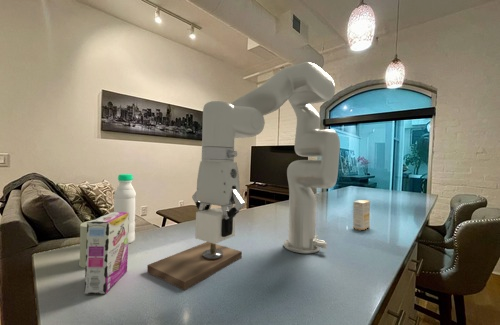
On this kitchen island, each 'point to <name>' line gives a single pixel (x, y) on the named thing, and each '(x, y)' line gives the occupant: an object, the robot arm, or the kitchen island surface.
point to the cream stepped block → (211, 225)
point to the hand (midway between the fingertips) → (215, 231)
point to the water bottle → (126, 202)
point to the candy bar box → (106, 252)
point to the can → (83, 244)
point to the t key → (212, 253)
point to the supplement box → (361, 214)
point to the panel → (192, 265)
